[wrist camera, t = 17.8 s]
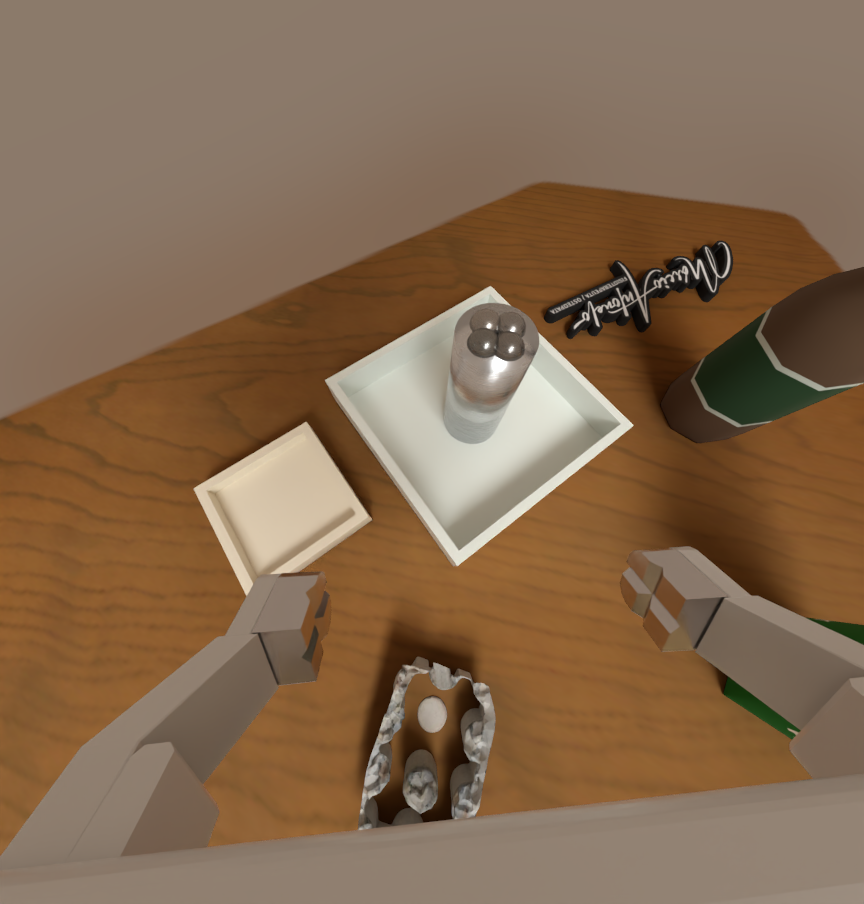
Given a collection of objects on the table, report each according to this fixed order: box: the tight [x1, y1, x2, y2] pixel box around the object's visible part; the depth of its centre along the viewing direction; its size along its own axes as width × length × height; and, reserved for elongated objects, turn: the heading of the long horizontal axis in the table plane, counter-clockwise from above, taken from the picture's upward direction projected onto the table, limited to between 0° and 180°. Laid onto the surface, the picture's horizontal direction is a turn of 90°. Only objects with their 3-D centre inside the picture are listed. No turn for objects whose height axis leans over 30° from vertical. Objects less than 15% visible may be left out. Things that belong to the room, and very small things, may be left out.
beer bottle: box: [660, 267, 864, 443], centre depth 22 cm, size 8×8×24 cm
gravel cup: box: [444, 303, 539, 444], centre depth 26 cm, size 6×6×13 cm
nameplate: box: [544, 241, 733, 339], centre depth 39 cm, size 27×2×10 cm
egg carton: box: [358, 657, 496, 830], centre depth 22 cm, size 11×8×4 cm
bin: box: [325, 286, 634, 566], centre depth 31 cm, size 20×20×4 cm
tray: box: [193, 422, 372, 596], centre depth 28 cm, size 11×11×2 cm
